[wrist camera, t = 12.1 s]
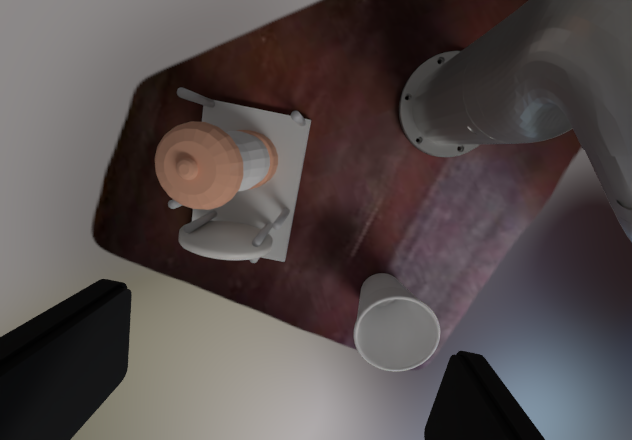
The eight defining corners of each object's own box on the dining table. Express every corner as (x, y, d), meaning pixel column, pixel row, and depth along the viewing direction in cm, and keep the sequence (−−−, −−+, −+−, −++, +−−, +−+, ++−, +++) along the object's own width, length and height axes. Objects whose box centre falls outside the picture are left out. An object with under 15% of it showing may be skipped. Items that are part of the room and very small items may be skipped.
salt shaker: (240, 194, 41) (167, 233, 23) (214, 145, 40) (114, 144, 21) (287, 172, 40) (252, 194, 22) (263, 121, 39) (202, 97, 20)
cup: (359, 251, 44) (369, 285, 33) (424, 270, 44) (454, 310, 33) (339, 309, 46) (342, 358, 35) (400, 327, 46) (421, 381, 36)
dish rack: (311, 120, 40) (303, 109, 28) (285, 259, 44) (269, 299, 33) (207, 99, 40) (155, 78, 28) (193, 240, 44) (143, 274, 32)
